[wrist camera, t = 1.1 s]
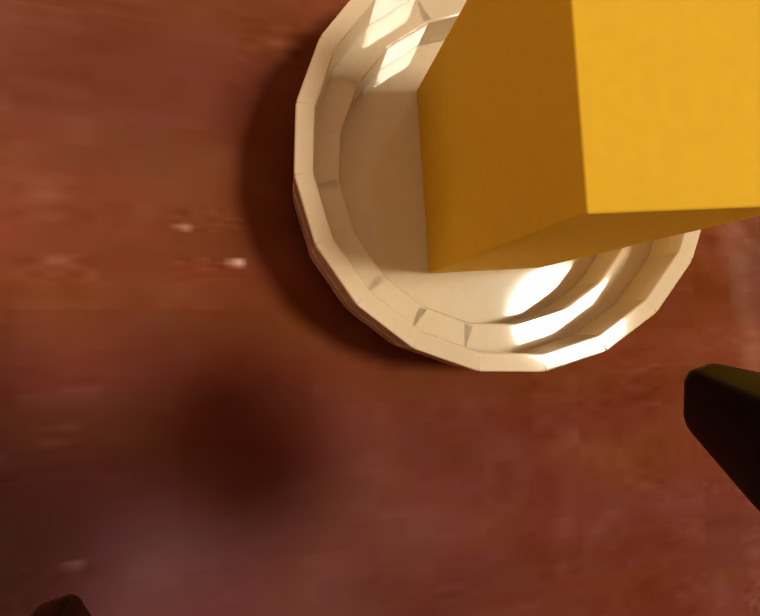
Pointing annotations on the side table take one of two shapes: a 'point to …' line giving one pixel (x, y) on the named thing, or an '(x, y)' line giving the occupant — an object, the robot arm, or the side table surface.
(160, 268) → the side table surface
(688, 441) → the side table surface
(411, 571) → the side table surface
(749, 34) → the sponge
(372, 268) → the bowl
